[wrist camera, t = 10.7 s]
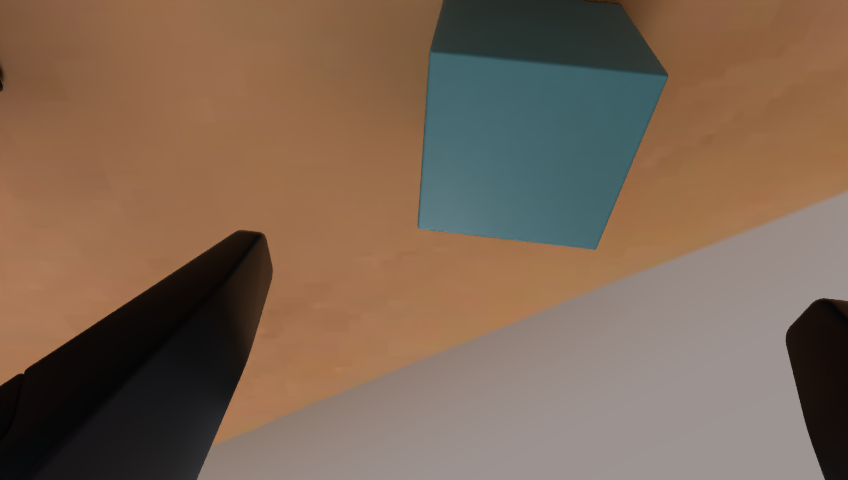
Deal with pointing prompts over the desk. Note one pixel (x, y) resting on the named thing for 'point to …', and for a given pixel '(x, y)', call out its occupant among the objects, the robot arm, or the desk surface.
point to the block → (533, 118)
